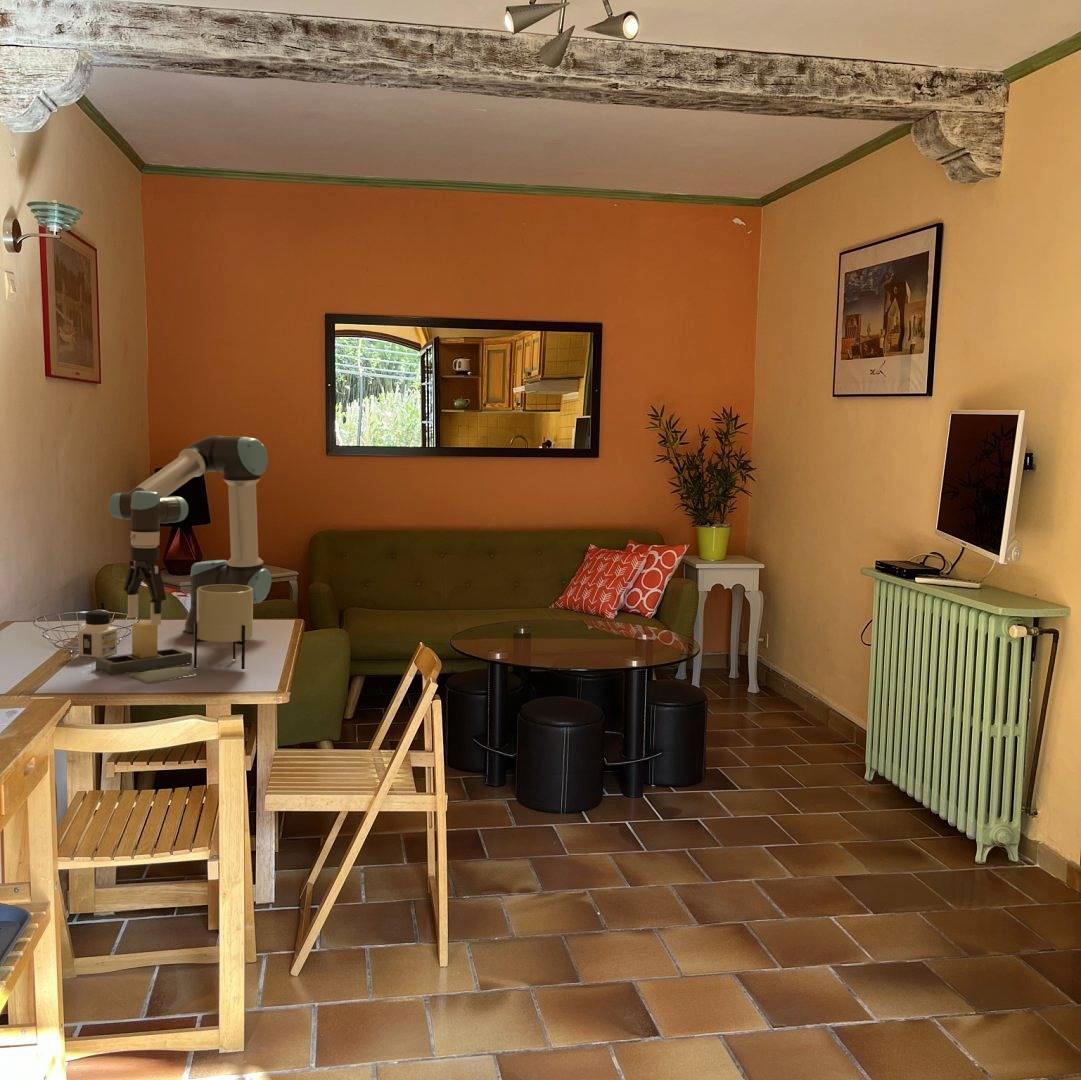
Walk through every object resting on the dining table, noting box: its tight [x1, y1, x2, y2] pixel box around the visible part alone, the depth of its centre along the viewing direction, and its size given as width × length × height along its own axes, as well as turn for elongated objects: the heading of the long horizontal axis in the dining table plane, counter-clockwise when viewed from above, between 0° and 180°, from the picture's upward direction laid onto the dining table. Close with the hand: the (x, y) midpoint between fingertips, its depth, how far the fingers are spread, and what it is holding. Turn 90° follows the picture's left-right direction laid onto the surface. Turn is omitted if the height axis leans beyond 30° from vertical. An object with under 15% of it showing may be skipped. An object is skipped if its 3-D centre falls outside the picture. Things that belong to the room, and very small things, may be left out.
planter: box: [193, 584, 254, 670], centre depth 301 cm, size 15×16×23 cm
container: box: [78, 609, 118, 659], centre depth 310 cm, size 8×8×13 cm
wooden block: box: [131, 621, 159, 659], centre depth 298 cm, size 5×5×12 cm
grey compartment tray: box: [95, 647, 193, 677], centre depth 299 cm, size 24×9×3 cm, turn 137°
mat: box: [130, 666, 197, 684], centre depth 289 cm, size 14×10×1 cm
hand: (144, 621), depth 297 cm, fingers open, 13 cm apart
